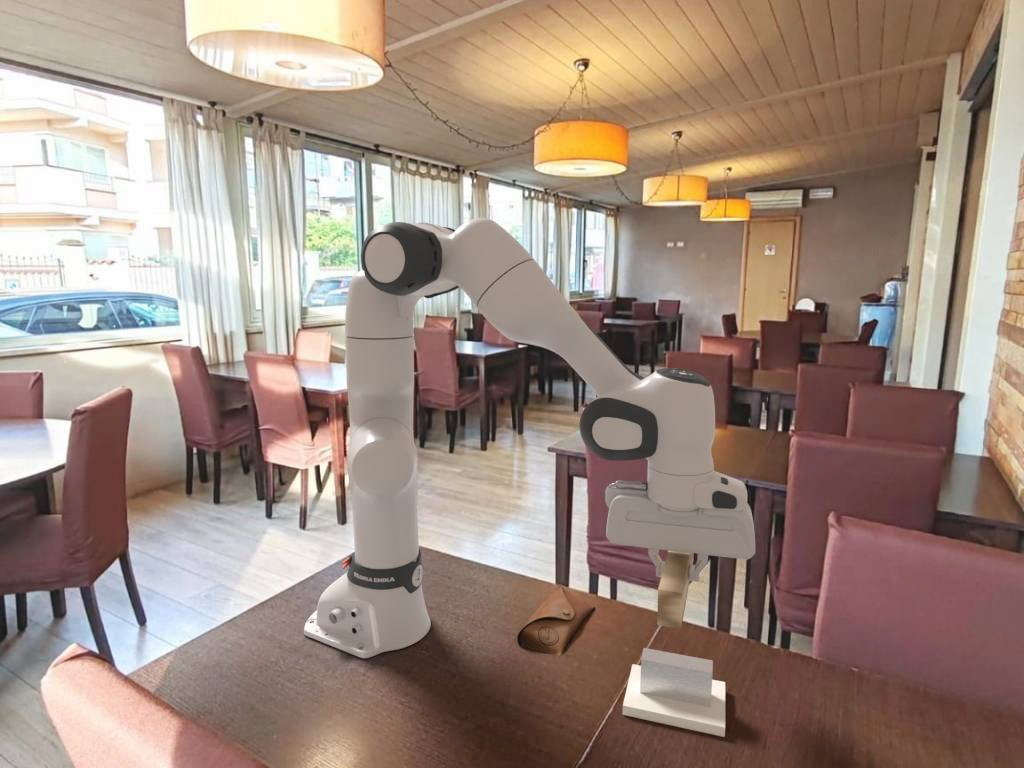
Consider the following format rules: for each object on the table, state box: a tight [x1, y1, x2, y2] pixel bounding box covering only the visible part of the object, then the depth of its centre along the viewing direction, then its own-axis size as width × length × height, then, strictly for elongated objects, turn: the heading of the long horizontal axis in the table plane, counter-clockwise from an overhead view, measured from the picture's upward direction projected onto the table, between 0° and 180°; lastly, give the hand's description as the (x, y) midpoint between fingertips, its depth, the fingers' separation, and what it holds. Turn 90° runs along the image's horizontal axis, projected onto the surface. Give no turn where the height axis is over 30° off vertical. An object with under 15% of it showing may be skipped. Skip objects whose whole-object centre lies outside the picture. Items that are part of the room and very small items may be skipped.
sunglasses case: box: [516, 583, 596, 656], centre depth 112 cm, size 18×7×7 cm
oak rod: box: [656, 550, 695, 630], centre depth 88 cm, size 3×20×5 cm, turn 160°
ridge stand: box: [622, 647, 726, 738], centre depth 91 cm, size 14×10×7 cm
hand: (677, 577), depth 88 cm, fingers closed on oak rod, 3 cm apart
